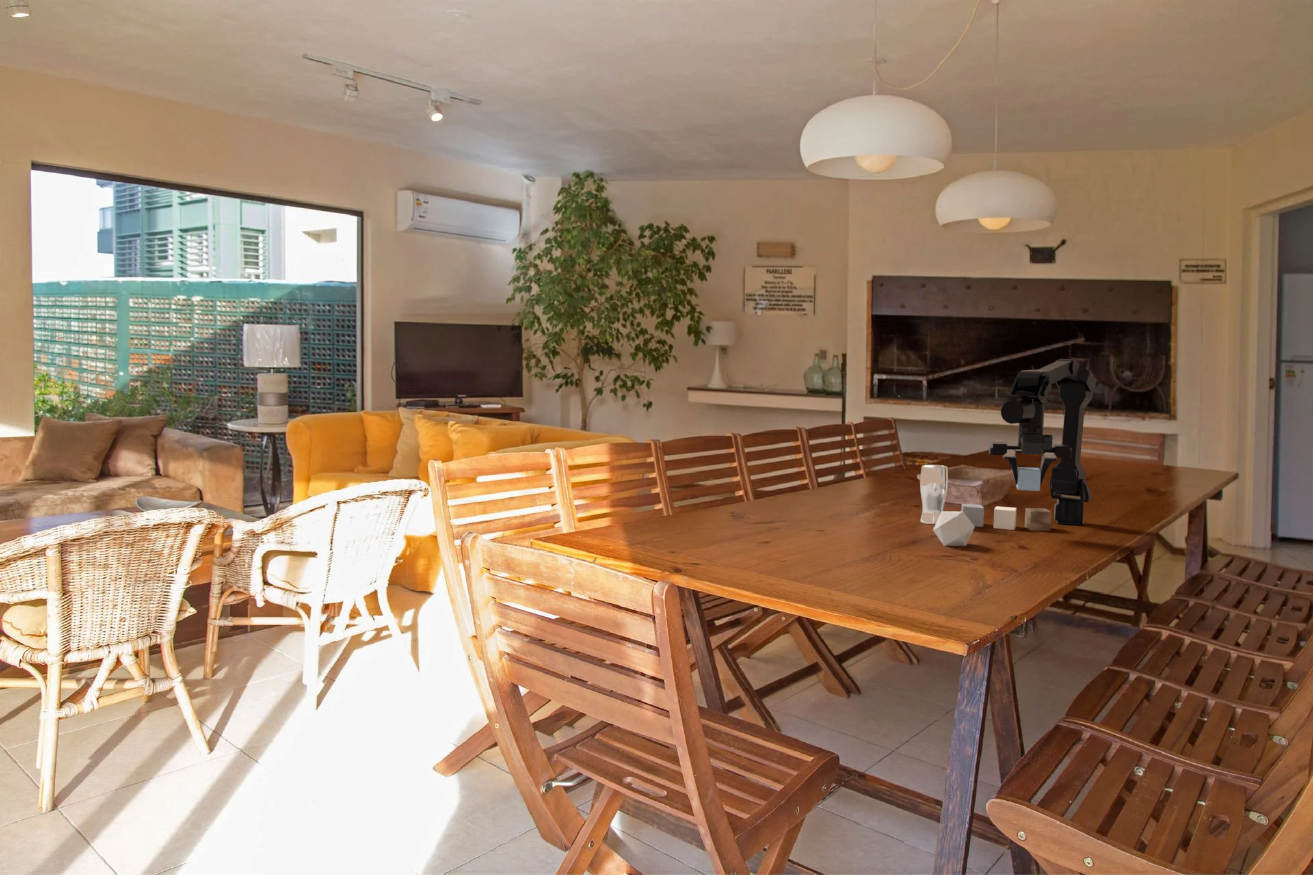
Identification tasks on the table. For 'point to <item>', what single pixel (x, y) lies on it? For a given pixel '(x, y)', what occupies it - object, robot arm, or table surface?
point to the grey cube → (974, 513)
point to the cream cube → (1004, 518)
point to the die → (953, 528)
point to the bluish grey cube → (1028, 478)
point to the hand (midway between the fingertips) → (1028, 484)
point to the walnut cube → (1037, 519)
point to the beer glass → (933, 492)
